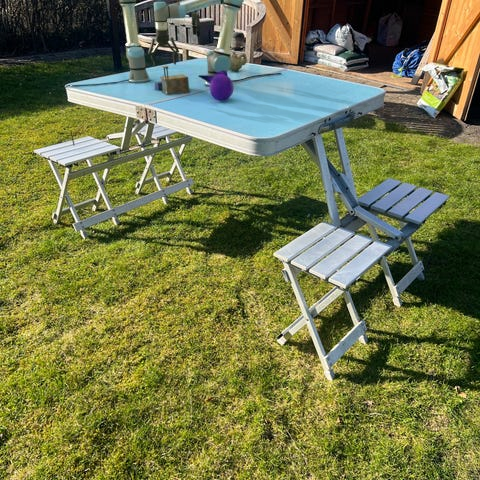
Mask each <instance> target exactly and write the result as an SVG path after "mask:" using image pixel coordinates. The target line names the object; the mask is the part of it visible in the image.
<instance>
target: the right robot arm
mask: <svg viewBox="0 0 480 480" xmlns="http://www.w3.org/2000/svg"><path fill="white" fill-rule="evenodd" d="M244 1H245V0H181V1H178V2H174V3H170V4H167V3H166V1H155V2H153V16H154V25H155V36H156V38H154V37H151V42H150V46H149V49H148V51H147V54H148V55H150V58H151V61H152V62H153V63H152V65H153V66H154V67H157V63H156V55H155V53H156V52H157V51H158V49H159V48H160V46H162V47H163V46H167V47H168V48H169V49H170V50H171V52H173V53H172V59H173V60H172V61H173V64H174V65H175V66H176V65H177V61H176V60H177V59H178V54H179V53H180V50H179V48H178V46H177V44H176V43H175V39H174V37H173V36H170V37H169V30H168V28H169V27H168V20H169V19H171V20H173V19H174V20H175V19H178V20H179V19H180V20H181V19H185V18H186V16H187V14H189V13H192V12H193V11H196V10H199V9H200V10H202V9H205V8H208V7H209V8H210V7H212V6H215V5H222V6H223V8H224V11H223V15H222V21H221V25H220V31H219V35H218V39H217V40H218V41H217V44H216V45H217V46H216V48H215V49H213V50H208V51H206V63H207V64H206V65H207V75H210V76H216V74H217V72H220V71H223V70H224V71H226V72H229V69H230V66H231V62H230V58H231V55H232V52H231V47H232V46H231V45H232V41H233V36H234V31H235V26H236V21H237V18H238V12H239V11H241V9H242V5H243V3H244ZM200 10H199V11H200ZM169 41H170V42H171V44H172V45H171V44H170V43H169ZM155 43H156V44H155ZM275 75H282V72H275V73H265V74H255V75H251V76H247V77H244V78H240V79H231V80H232V82H233V83H235V82H241V81H244V80H247V79H251V78H256V77H267V76H275ZM205 86H206V87H210V83H209V82H208V81H206V80H205Z"/></svg>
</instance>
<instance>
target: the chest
mask: <svg viewBox="0 0 480 480" xmlns="http://www.w3.org/2000/svg"><path fill="white" fill-rule="evenodd" d="M161 82H162V88H163V90H162V93H164V94H165V95H167V96H170V95H179V94H185V93H186V94H187V93H190V84H189V83H190V82H189V78H188V79H180V80H170V81H164V80H163V79H161Z"/></svg>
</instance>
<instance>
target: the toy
mask: <svg viewBox="0 0 480 480" xmlns="http://www.w3.org/2000/svg"><path fill="white" fill-rule="evenodd" d="M227 72H228V71H227ZM227 72H226V71H224V70H223V71H220V72H217V74H216V76H210V75H208V74H205V75H204V74H202V75H200V74H199V75H198V77H199V78H200V79H202V80H204V81H205V82H206V81H208V82H209V83H210V86H209V92H210V95H211V97H212V98H213V99H214V100H217V101H220V102H225V101H227V100H229V99H230V97H232V95H233V94H234V90H235V89H234V82H232V80H233V79H232V78H231V77H229V75H228V73H227Z"/></svg>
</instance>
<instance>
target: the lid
mask: <svg viewBox="0 0 480 480" xmlns="http://www.w3.org/2000/svg"><path fill="white" fill-rule="evenodd" d="M162 68H163V76H160V79H161V80H162V79H163V80H164V81H170V80H180V79H188V80H189V76H187V75H185V74H173V75H172V74H171V75H169V66H167V65H166V64H163V65H162Z"/></svg>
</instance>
